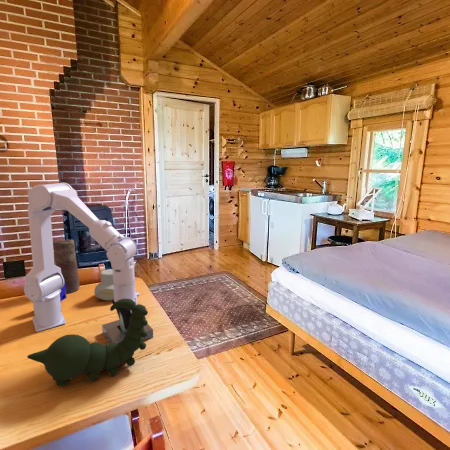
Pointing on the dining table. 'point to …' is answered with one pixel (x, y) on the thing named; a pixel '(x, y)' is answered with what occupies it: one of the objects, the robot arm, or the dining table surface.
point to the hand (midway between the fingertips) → (127, 325)
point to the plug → (122, 324)
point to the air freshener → (105, 286)
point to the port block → (115, 335)
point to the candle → (67, 263)
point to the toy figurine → (94, 350)
